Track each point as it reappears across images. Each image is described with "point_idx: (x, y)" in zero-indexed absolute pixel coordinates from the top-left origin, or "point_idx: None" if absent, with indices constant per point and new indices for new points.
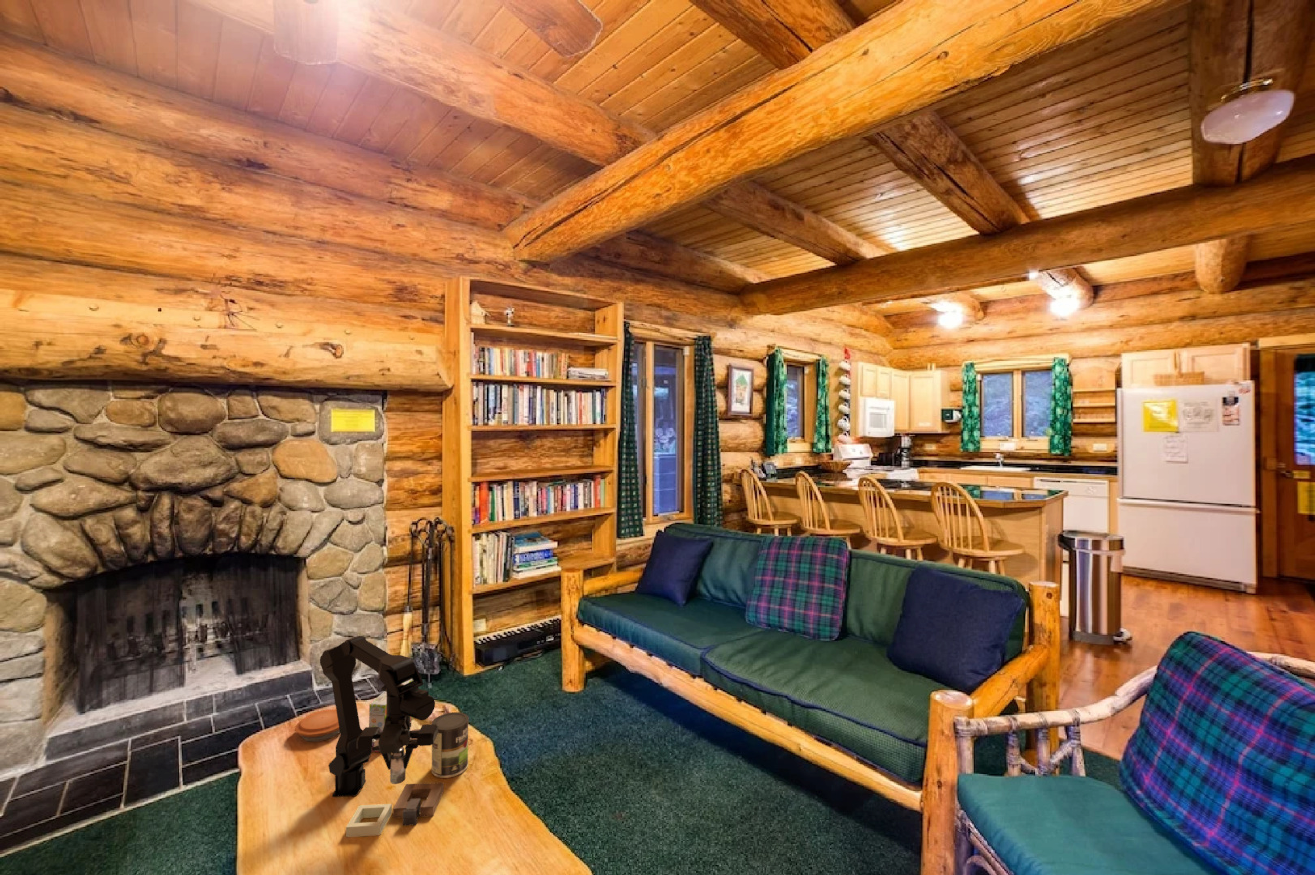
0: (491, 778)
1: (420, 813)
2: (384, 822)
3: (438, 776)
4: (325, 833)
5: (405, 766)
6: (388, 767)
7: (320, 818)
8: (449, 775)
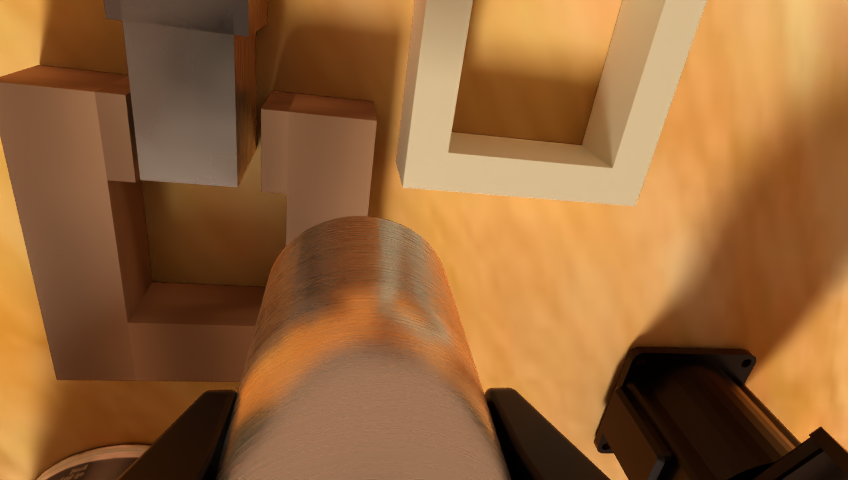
0: None
1: None
2: (419, 7)
3: None
4: (800, 28)
5: (202, 421)
6: (524, 414)
7: (814, 188)
8: (100, 459)
